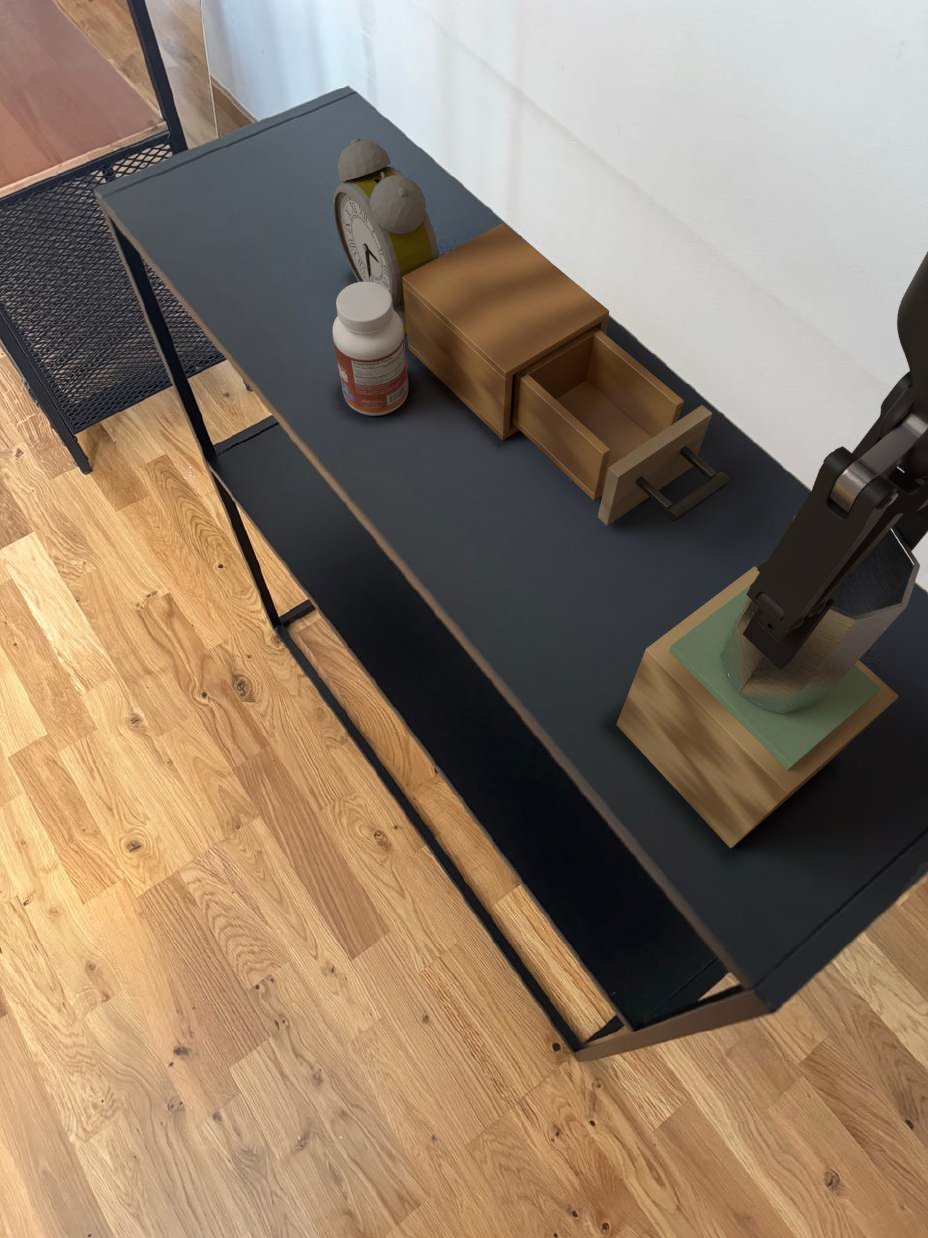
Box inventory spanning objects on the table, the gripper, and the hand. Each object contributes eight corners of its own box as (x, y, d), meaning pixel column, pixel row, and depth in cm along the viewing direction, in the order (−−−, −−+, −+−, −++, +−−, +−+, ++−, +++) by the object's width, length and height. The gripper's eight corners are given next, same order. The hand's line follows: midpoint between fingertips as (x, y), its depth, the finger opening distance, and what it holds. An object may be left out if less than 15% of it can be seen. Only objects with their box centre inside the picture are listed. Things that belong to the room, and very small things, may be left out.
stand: (825, 765, 66) (899, 696, 54) (730, 849, 63) (788, 794, 51) (708, 651, 70) (755, 565, 59) (615, 724, 67) (645, 648, 56)
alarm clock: (341, 277, 91) (319, 137, 78) (398, 252, 92) (386, 111, 79) (399, 346, 86) (385, 211, 73) (458, 319, 88) (455, 182, 75)
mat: (876, 693, 54) (881, 688, 54) (787, 771, 52) (791, 766, 51) (755, 583, 58) (759, 577, 57) (668, 651, 56) (670, 645, 55)
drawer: (734, 500, 76) (756, 449, 70) (646, 564, 73) (661, 516, 67) (591, 375, 83) (601, 319, 77) (505, 429, 80) (508, 375, 74)
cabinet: (597, 381, 84) (609, 310, 76) (502, 440, 80) (505, 372, 73) (500, 296, 89) (502, 222, 82) (407, 348, 86) (401, 276, 78)
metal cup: (841, 644, 55) (930, 536, 44) (809, 730, 52) (896, 637, 41) (742, 602, 56) (805, 488, 46) (707, 684, 54) (765, 583, 43)
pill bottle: (346, 368, 85) (329, 274, 75) (410, 368, 85) (402, 274, 75) (341, 418, 82) (323, 326, 72) (407, 418, 82) (399, 326, 72)
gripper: (1137, 82, 32) (878, 474, 52) (758, 329, 26) (632, 662, 47) (1343, 188, 29) (985, 559, 49) (968, 490, 23) (737, 770, 44)
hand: (814, 608), depth 48 cm, fingers closed on metal cup, 7 cm apart
